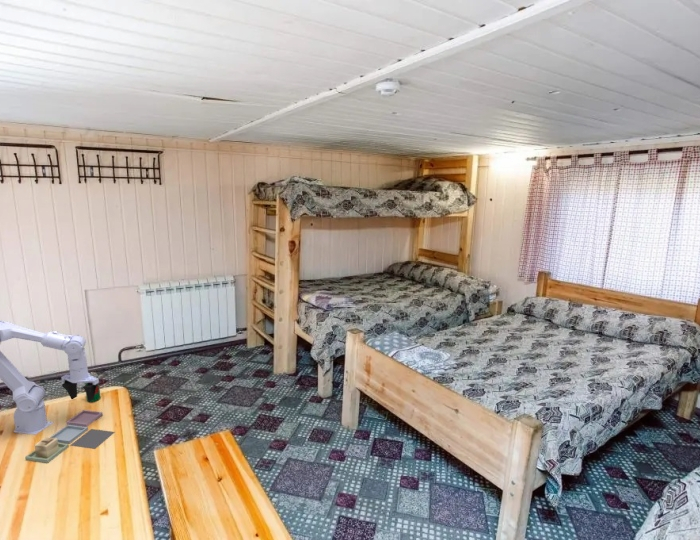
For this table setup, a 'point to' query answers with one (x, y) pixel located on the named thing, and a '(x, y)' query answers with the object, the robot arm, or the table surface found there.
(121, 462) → the table surface
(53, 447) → the letter cube
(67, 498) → the table surface
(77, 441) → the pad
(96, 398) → the soda can
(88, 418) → the tray far
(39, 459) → the tray near
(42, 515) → the table surface
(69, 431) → the tray mid
